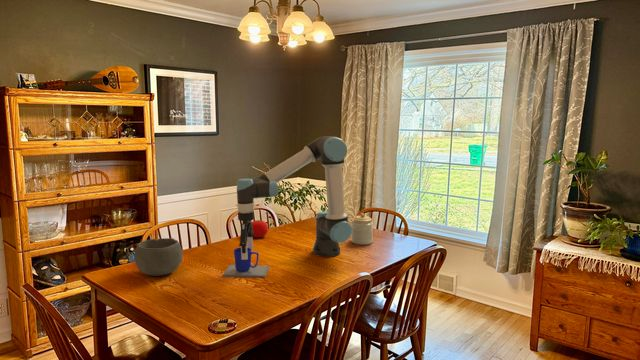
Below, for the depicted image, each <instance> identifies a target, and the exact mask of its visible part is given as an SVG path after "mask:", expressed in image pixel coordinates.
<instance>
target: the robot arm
mask: <svg viewBox="0 0 640 360" xmlns="http://www.w3.org/2000/svg"><path fill="white" fill-rule="evenodd" d="M347 154H348V145H347V143H346V141H344V140H343V139H341V138H340V137H337V136H328V135H324V136H320V137H317V138H316V139H314V140H312V141H311V142H310V143H308V144H307V145H305V146H304V147H303V149H302V150H300V151H299V152H297V153H296V154H295V153H294V155H292V156H291V157H289V158H287V159H286V160H284V161H282V162H281V163H279V164H277V165H276V166H274V167H273V168H271V169H269V170H268V171H266V172H265V173H262V174H261V175H259V176H254V177H252V178H239V179H237V180H236V201H237V204H235V205H236V207H237V220H238V221H241V222H242V223H241V224H240V236H239V238H240V239H239V244H238V247H240V248H241V259H242V260H247V259H248V255H247V248H250V249H251V251H253V250H254V243H253V242H254V240H253V238H255V237H254V234H253V228H252V222H253V221H254V219H255V212H254V210H255V206H254V199H262V198H263V199H264V198H274V197H277V196H278V195H279V185H278V184H279V182H280V181H283V180H284V179H285V178H287V177H289V176H291V175H293V174H294V173H295V172H297V171H298V170H300V169H302V168H303V167H305V166H306V165H308V164H310V163H311V162H312V163H315V162H317V161H319V160H320V162H321V163H320V164H321V165H322V167H324V176H325V187H326V188H325V190H326V205H327V211H326V210H325V211H319V212H317V213H316V217H315V221H316V222H315V225H316V226H315V236H316V237H315V241H314V244H313V248H312V254H313V255H315V256H317V257H318V256H319V257H324V258H325V257H336V256H339V255H340V254H341V247H340V244H339V243H345V242H347V241H348V240H349V238H350V239H351V237H352V225H351V223H350V222H349V214H348V213H346V212H345V199H344V185H343V184H344V183H343V170H342V169H343V168H342V166H343V165H344V164H345V158H346V156H348V155H347Z"/></svg>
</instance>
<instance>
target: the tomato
mask: <svg viewBox="0 0 640 360" xmlns="http://www.w3.org/2000/svg"><path fill="white" fill-rule="evenodd" d="M252 228H253V234H254V237H253V238H258V239H260V238H262V237H265V236H266V235H267V234H268V232H269V227H268V224H267V222H265V221H264V220H261V219H260V220H259V219H258V220H252Z"/></svg>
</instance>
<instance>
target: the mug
mask: <svg viewBox="0 0 640 360" xmlns="http://www.w3.org/2000/svg"><path fill="white" fill-rule="evenodd" d="M233 253H234V254H233V256H234V265H235V267H236V270H237V271H240V272H244V271H248V270H249V269H250V267H252V268H255V267H256V266H257V265H258V263H259V258H260V257H259V254H260V253H259V252H257V251H252V250H251V249H250V248H247V255H248V259H247V260H242V259H241V247H237V248H235V249H234V250H233ZM252 254H253V255H256V261H255V264H254V265H255V266H251V265H252Z"/></svg>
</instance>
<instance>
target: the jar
mask: <svg viewBox="0 0 640 360" xmlns="http://www.w3.org/2000/svg"><path fill="white" fill-rule="evenodd" d="M351 224H352V225H351V227H352V234H351V236H350V239H351V243H353V244H356V245H361V246H362V245H365V246H366V245H370V244H372V243H373V240H374V237H373V234H374V233H373V232H374V227H373V225H374V222H373V218H371V217H370V216H367V215H366V214H365V213H364V212H361V213H360V215H357V216H355V217H353V218H352V221H351Z"/></svg>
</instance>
